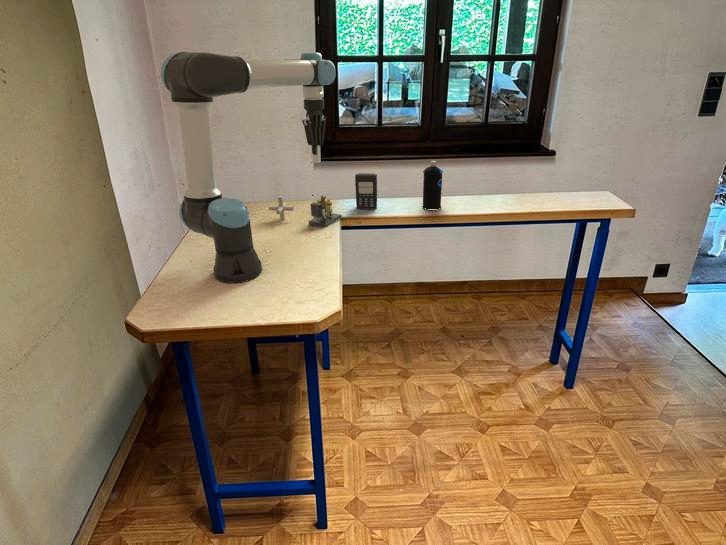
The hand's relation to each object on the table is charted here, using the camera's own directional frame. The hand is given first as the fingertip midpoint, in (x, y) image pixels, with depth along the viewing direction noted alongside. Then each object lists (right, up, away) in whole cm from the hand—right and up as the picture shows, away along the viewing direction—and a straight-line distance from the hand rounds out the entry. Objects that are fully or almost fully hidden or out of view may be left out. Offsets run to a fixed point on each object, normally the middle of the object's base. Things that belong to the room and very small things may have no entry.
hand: (316, 162), depth 186 cm
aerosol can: (+48, -15, +20) cm, 54 cm away
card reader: (+20, -15, +21) cm, 33 cm away
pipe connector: (-15, -21, +11) cm, 28 cm away
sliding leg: (+3, -20, +8) cm, 22 cm away
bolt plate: (+3, -22, +8) cm, 24 cm away
